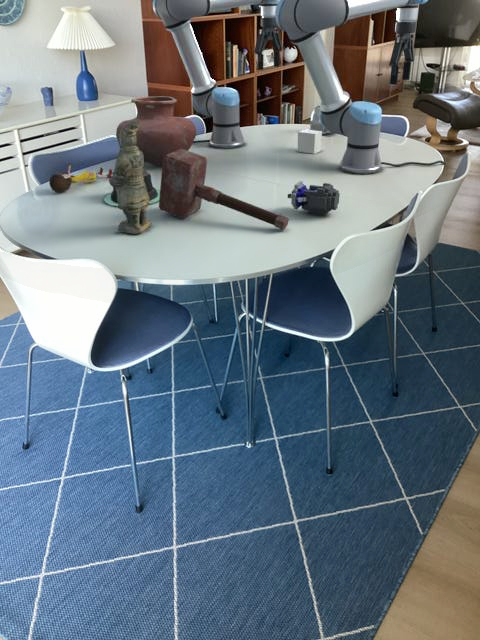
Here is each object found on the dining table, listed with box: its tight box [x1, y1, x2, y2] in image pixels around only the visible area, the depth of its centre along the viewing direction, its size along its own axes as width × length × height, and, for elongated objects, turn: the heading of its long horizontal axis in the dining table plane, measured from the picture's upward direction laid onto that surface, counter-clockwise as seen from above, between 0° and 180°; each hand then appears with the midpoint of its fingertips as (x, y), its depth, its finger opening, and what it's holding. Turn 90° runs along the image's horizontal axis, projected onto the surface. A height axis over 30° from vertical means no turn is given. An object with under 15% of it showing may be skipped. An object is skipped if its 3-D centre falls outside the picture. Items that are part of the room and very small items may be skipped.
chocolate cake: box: [103, 168, 160, 207], centre depth 186 cm, size 15×19×20 cm
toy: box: [287, 180, 341, 216], centre depth 168 cm, size 9×9×15 cm
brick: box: [296, 128, 323, 155], centre depth 235 cm, size 6×8×8 cm
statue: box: [108, 121, 153, 235], centre depth 154 cm, size 11×9×30 cm
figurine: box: [48, 164, 113, 193], centre depth 199 cm, size 13×8×25 cm
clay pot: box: [115, 95, 197, 166], centre depth 218 cm, size 30×30×25 cm
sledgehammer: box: [158, 149, 290, 231], centre depth 163 cm, size 17×10×40 cm
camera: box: [309, 105, 331, 135], centre depth 263 cm, size 9×12×15 cm
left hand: (268, 68), depth 261 cm, fingers open, 13 cm apart
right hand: (399, 82), depth 219 cm, fingers open, 13 cm apart
